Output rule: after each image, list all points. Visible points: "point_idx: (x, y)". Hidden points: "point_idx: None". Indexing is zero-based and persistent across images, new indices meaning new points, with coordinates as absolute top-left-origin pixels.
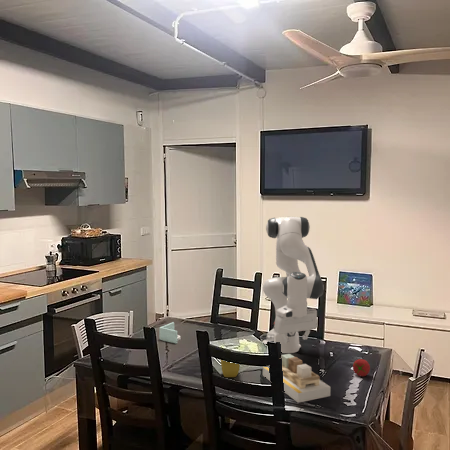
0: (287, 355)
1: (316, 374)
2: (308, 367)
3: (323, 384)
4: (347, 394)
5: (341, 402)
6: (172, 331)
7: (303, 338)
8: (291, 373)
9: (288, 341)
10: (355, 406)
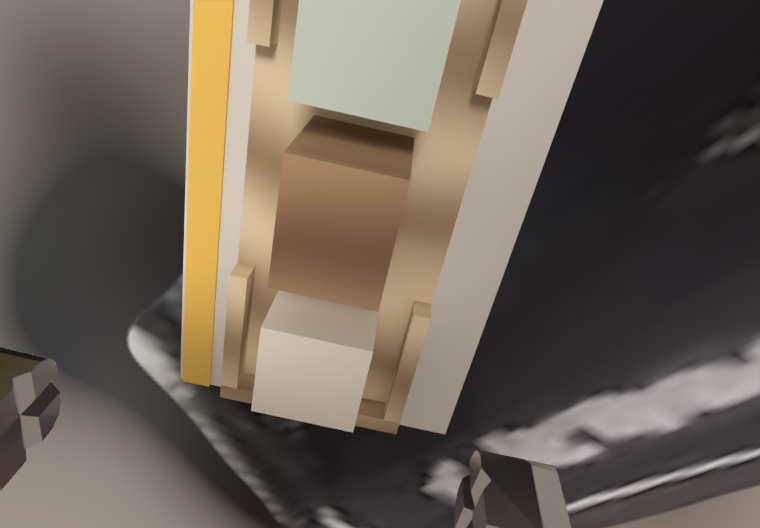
0: (381, 13)
1: (403, 402)
2: (326, 419)
3: (435, 390)
4: (547, 429)
5: (429, 459)
6: None
7: (469, 483)
8: (268, 217)
9: (26, 434)
10: (451, 512)
